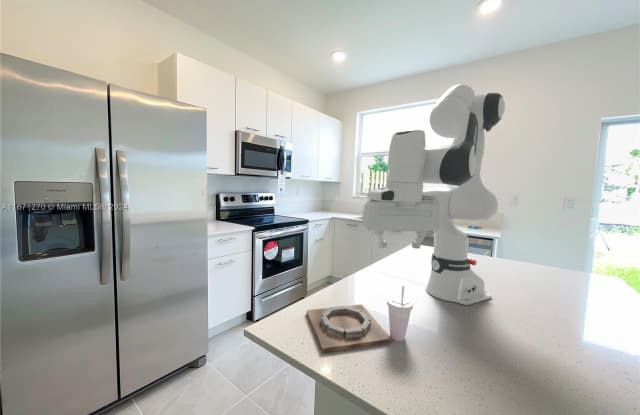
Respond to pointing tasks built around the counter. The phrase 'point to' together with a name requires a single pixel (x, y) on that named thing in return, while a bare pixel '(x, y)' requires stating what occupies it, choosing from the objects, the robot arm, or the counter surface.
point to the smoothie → (399, 316)
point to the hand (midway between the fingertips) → (399, 248)
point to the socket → (346, 328)
